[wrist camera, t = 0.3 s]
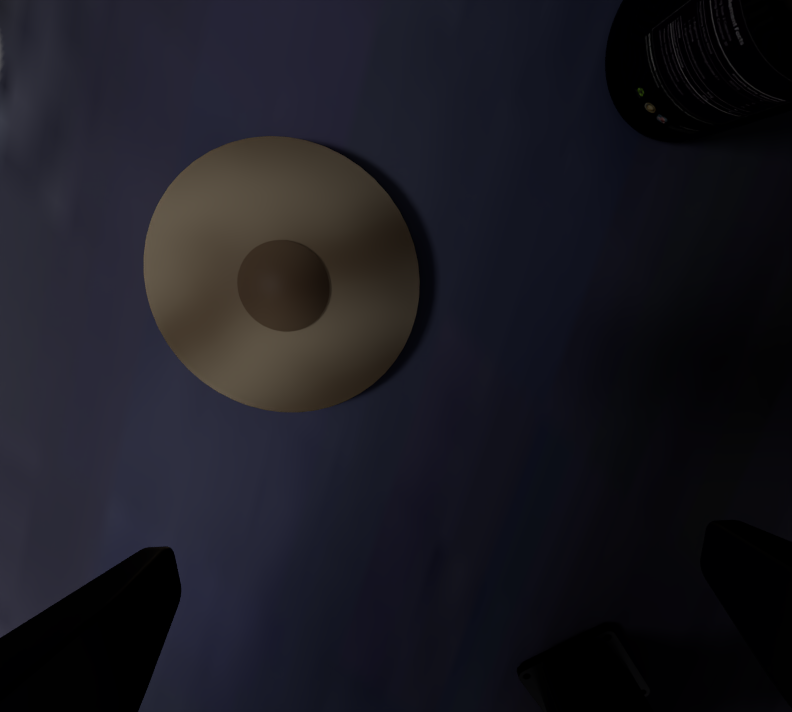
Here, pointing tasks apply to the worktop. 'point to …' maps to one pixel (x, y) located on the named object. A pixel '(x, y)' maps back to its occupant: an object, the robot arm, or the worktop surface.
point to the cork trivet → (281, 274)
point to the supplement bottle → (699, 65)
